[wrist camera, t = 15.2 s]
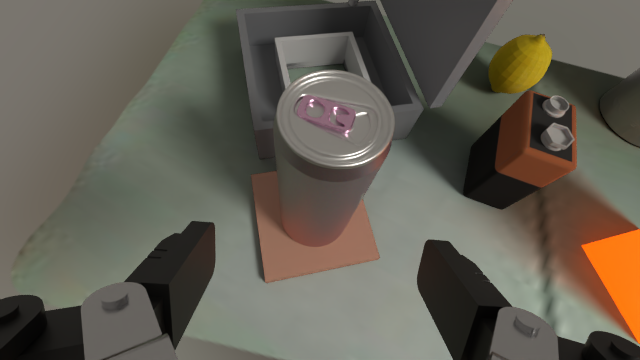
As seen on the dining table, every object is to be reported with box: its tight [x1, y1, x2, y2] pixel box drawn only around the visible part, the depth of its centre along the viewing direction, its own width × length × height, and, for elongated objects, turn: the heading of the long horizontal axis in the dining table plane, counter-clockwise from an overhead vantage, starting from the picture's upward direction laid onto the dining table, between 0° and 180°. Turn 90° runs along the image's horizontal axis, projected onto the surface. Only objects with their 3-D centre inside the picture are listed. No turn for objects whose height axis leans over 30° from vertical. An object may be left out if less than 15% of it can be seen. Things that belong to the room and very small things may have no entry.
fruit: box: [489, 34, 552, 94], centre depth 34 cm, size 6×6×8 cm
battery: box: [464, 91, 577, 209], centre depth 28 cm, size 4×7×10 cm, turn 159°
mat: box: [251, 171, 380, 283], centre depth 28 cm, size 10×10×1 cm
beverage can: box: [273, 70, 395, 247], centre depth 21 cm, size 6×6×15 cm
